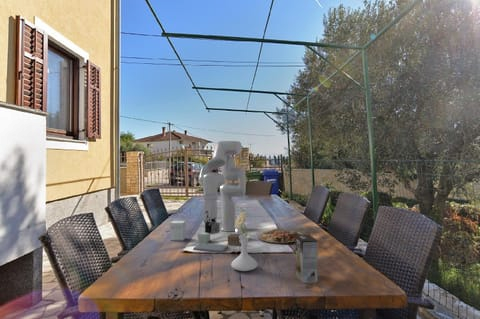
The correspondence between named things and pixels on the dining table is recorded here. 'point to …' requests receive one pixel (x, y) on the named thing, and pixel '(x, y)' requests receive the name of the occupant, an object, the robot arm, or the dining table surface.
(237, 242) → the walnut block
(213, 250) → the slate mat
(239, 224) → the flower in vase
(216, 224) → the dice cube
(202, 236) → the sage block
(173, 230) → the small box
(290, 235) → the rice dish
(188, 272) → the dining table surface
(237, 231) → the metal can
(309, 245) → the coffee box
